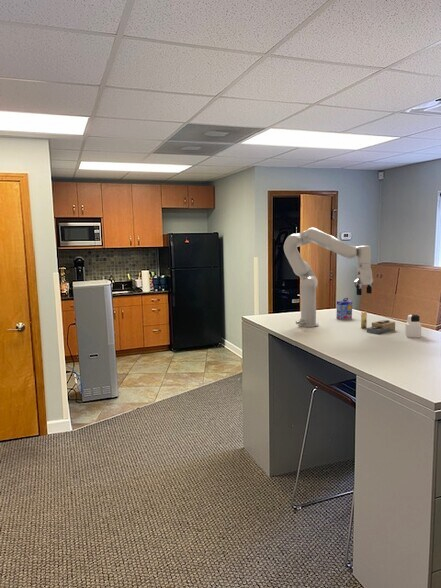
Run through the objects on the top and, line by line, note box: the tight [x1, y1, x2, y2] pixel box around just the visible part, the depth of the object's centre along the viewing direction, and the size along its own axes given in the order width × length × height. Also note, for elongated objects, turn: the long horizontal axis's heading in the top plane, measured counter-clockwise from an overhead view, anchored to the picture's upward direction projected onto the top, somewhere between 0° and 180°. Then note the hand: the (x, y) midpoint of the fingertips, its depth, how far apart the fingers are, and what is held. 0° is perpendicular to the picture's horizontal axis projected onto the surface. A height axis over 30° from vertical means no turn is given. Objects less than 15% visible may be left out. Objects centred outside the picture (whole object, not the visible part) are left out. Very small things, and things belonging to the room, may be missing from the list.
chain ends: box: [366, 319, 396, 335], centre depth 250 cm, size 16×8×6 cm, turn 125°
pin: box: [360, 311, 368, 330], centre depth 259 cm, size 3×3×10 cm
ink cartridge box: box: [335, 297, 353, 321], centre depth 291 cm, size 10×6×14 cm, turn 115°
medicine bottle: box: [404, 314, 422, 339], centre depth 235 cm, size 7×7×12 cm
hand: (364, 294), depth 258 cm, fingers open, 9 cm apart
